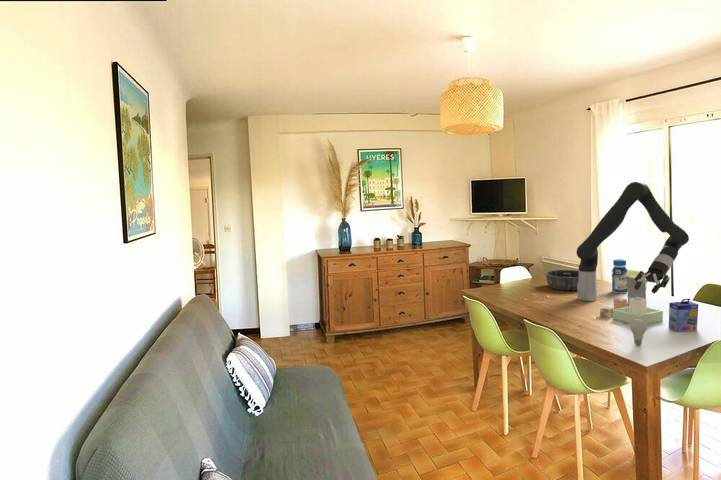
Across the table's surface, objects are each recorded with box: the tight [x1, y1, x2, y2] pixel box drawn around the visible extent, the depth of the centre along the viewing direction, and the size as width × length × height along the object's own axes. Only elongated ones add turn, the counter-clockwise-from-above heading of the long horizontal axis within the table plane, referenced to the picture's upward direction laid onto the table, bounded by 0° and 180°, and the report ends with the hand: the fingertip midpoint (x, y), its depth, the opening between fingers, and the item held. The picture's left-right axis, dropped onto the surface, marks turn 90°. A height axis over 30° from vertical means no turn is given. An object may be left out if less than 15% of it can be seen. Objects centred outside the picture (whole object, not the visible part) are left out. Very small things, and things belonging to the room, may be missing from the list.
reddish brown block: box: [613, 297, 628, 310], centre depth 222 cm, size 6×6×7 cm
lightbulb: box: [628, 319, 648, 346], centre depth 176 cm, size 6×6×11 cm
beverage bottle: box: [611, 258, 629, 294], centre depth 264 cm, size 8×8×20 cm
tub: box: [612, 306, 664, 326], centre depth 209 cm, size 13×16×5 cm
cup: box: [628, 297, 647, 315], centre depth 208 cm, size 5×5×10 cm
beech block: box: [599, 305, 614, 319], centre depth 218 cm, size 4×4×4 cm
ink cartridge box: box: [668, 298, 699, 333], centre depth 191 cm, size 10×6×14 cm, turn 95°
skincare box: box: [626, 274, 647, 304], centre depth 236 cm, size 8×7×16 cm
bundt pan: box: [544, 269, 579, 291], centre depth 284 cm, size 26×26×10 cm
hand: (644, 290), depth 209 cm, fingers open, 8 cm apart
